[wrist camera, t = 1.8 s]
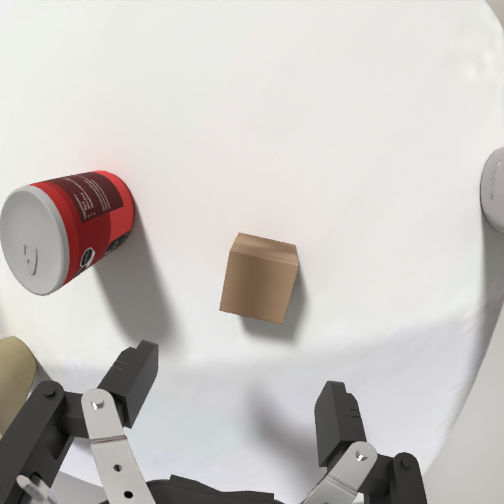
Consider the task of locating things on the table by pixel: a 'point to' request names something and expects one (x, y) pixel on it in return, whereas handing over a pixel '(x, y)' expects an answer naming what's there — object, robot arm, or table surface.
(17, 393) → the plant pot
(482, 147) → the table surface
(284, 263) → the walnut cube
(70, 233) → the canned food
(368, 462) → the robot arm
